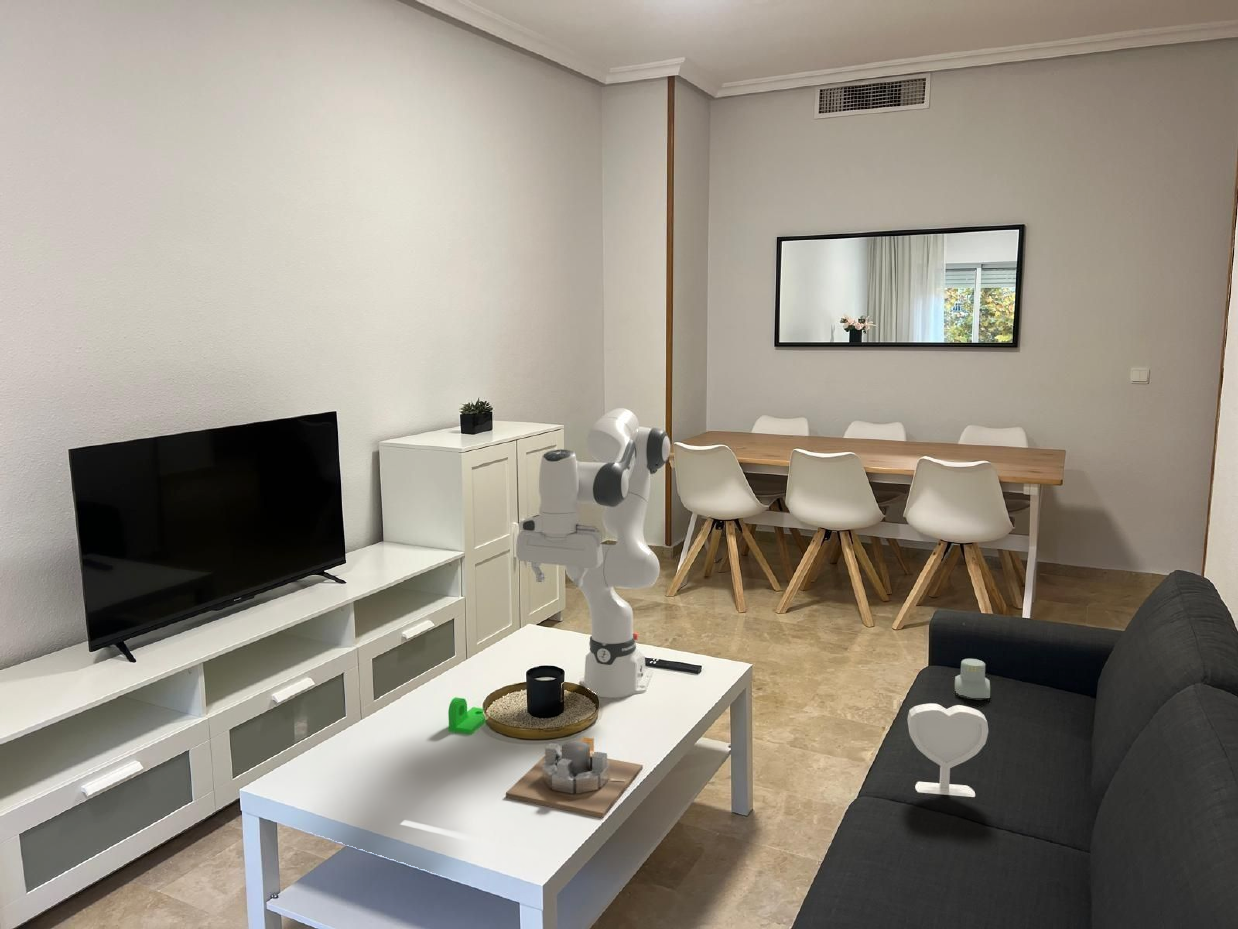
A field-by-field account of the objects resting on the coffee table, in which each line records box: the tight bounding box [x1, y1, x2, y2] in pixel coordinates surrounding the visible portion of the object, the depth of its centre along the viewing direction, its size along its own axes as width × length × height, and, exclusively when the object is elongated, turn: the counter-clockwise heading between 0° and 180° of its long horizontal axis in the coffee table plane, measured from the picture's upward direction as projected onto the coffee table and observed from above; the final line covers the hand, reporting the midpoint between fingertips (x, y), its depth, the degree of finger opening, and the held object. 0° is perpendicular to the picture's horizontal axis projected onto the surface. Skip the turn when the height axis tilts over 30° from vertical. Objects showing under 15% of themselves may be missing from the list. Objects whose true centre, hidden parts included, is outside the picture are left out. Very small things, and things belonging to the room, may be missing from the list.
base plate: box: [505, 740, 644, 819], centre depth 197 cm, size 22×22×8 cm
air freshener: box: [954, 658, 991, 698], centre depth 240 cm, size 11×8×10 cm
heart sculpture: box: [906, 703, 989, 798], centre depth 193 cm, size 16×5×18 cm, turn 79°
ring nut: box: [542, 736, 610, 794], centre depth 197 cm, size 14×14×6 cm
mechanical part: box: [447, 696, 487, 735], centre depth 226 cm, size 12×6×8 cm, turn 160°
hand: (559, 583), depth 208 cm, fingers open, 8 cm apart
